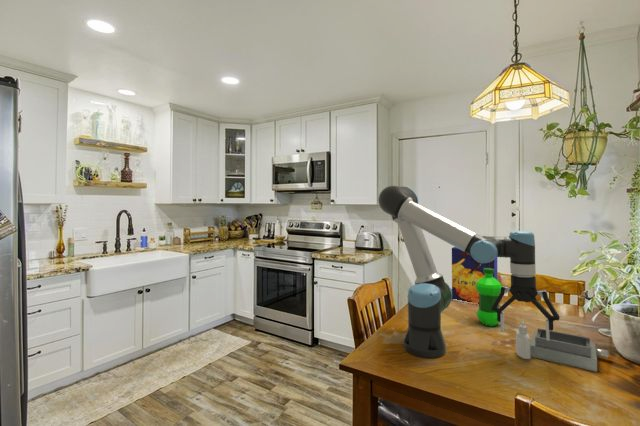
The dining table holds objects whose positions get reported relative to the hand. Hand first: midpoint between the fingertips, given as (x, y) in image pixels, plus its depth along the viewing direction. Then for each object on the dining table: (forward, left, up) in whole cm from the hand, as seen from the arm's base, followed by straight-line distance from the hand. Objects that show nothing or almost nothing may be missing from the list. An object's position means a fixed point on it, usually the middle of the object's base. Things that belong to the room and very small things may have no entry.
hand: (524, 334), depth 114 cm
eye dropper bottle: (0, 0, -8) cm, 8 cm away
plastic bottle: (+27, +16, -8) cm, 33 cm away
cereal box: (+57, +29, -8) cm, 65 cm away
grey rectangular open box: (+9, -12, -8) cm, 17 cm away
